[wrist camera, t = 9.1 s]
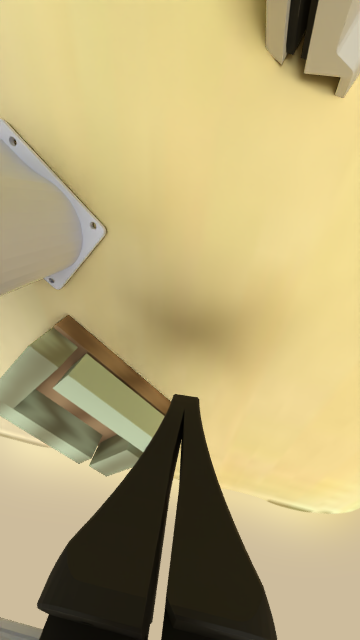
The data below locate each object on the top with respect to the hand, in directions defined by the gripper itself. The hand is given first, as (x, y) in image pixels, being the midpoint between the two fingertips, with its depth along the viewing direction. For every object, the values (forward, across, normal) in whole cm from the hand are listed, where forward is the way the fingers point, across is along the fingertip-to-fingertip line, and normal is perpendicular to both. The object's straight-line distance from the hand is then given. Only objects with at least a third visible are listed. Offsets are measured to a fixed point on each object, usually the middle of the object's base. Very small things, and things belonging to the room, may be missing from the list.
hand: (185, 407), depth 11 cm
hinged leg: (+7, +7, +10) cm, 14 cm away
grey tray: (+9, +12, +12) cm, 19 cm away
